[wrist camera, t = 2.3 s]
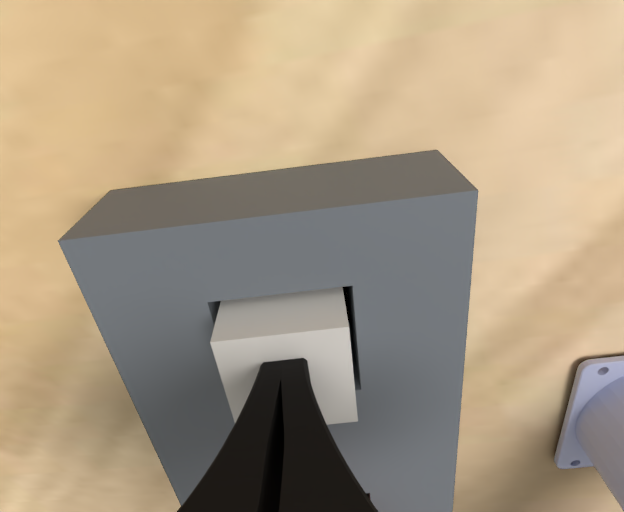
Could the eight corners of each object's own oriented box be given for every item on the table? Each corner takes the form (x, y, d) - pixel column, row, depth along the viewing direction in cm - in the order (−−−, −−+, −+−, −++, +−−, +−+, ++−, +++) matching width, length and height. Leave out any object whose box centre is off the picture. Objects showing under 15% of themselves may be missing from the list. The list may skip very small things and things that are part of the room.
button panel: (437, 149, 15) (478, 190, 12) (424, 582, 31) (440, 653, 28) (110, 190, 16) (57, 240, 12) (261, 597, 32) (257, 669, 28)
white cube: (337, 256, 16) (349, 326, 12) (345, 340, 18) (358, 421, 14) (229, 269, 16) (210, 342, 12) (249, 351, 18) (237, 434, 14)
